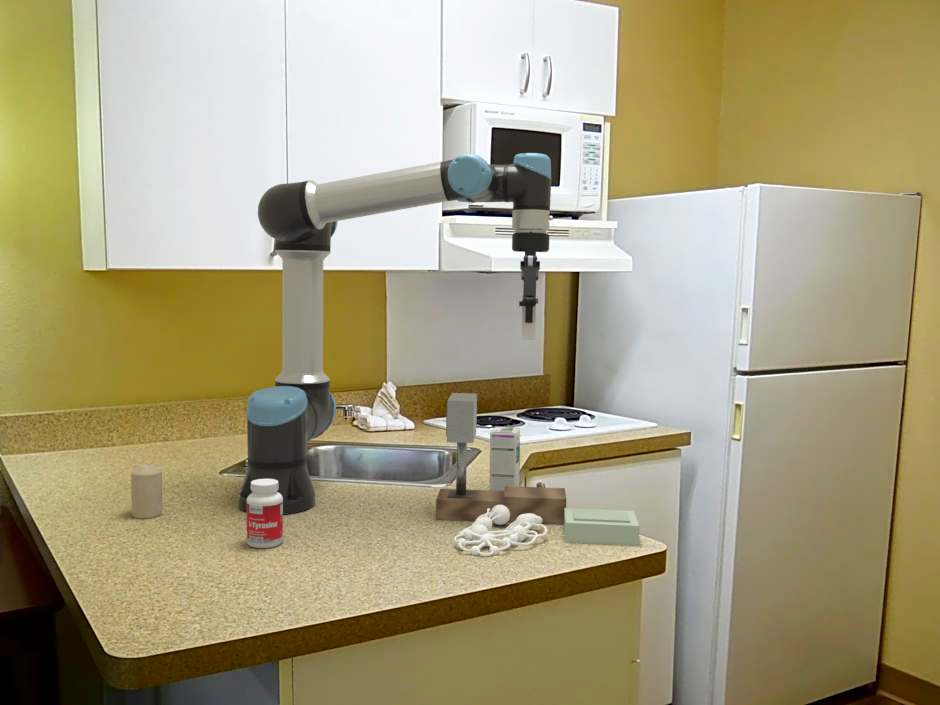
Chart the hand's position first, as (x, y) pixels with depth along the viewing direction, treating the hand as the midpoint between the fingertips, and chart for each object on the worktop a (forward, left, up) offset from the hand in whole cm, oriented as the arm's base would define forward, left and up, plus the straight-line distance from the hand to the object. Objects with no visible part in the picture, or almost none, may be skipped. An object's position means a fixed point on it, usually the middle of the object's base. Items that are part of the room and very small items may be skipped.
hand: (528, 337), depth 172 cm
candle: (-73, -18, -35) cm, 83 cm away
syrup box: (-4, +5, -35) cm, 36 cm away
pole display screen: (-12, -10, -30) cm, 34 cm away
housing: (-4, -10, -35) cm, 36 cm away
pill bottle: (-45, -32, -35) cm, 65 cm away
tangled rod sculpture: (-4, -24, -35) cm, 43 cm away
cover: (+14, -20, -35) cm, 43 cm away
